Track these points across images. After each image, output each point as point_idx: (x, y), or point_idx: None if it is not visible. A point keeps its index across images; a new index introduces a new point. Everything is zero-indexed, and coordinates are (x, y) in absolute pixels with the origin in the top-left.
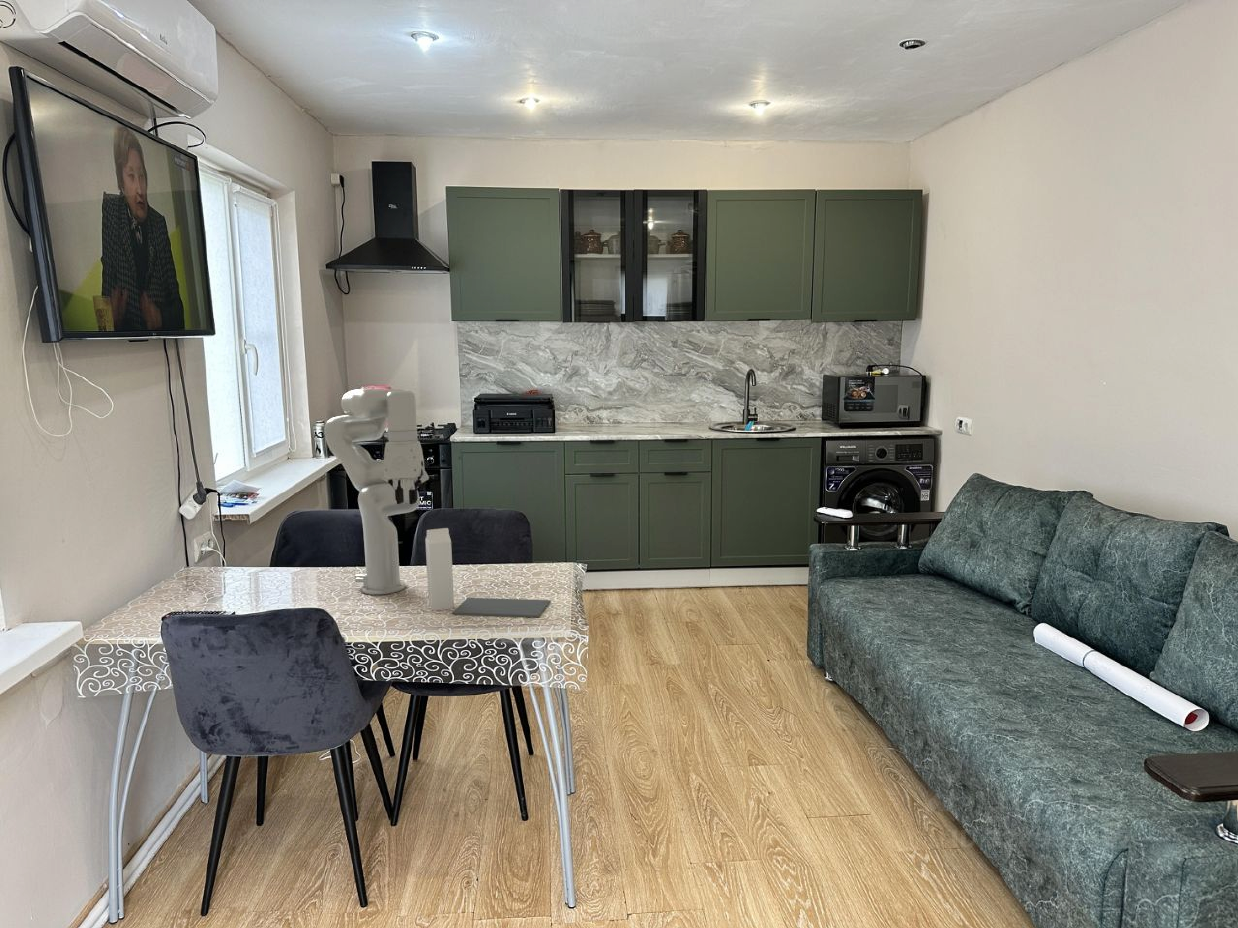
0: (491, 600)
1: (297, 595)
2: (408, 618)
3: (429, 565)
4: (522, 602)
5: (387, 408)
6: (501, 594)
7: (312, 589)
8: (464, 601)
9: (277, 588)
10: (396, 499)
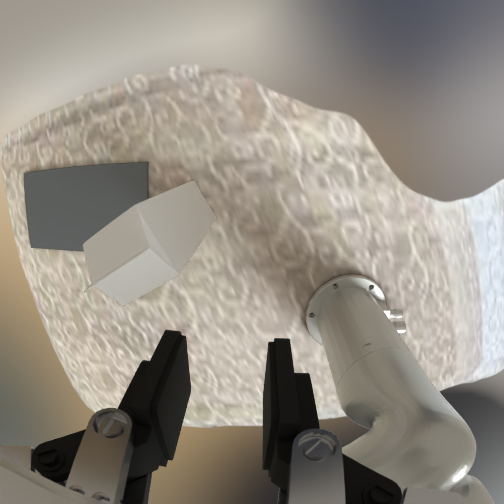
0: None
1: (471, 264)
2: (227, 130)
3: (170, 203)
4: (57, 233)
5: None
6: None
7: (457, 296)
8: None
9: (495, 295)
10: (300, 373)
